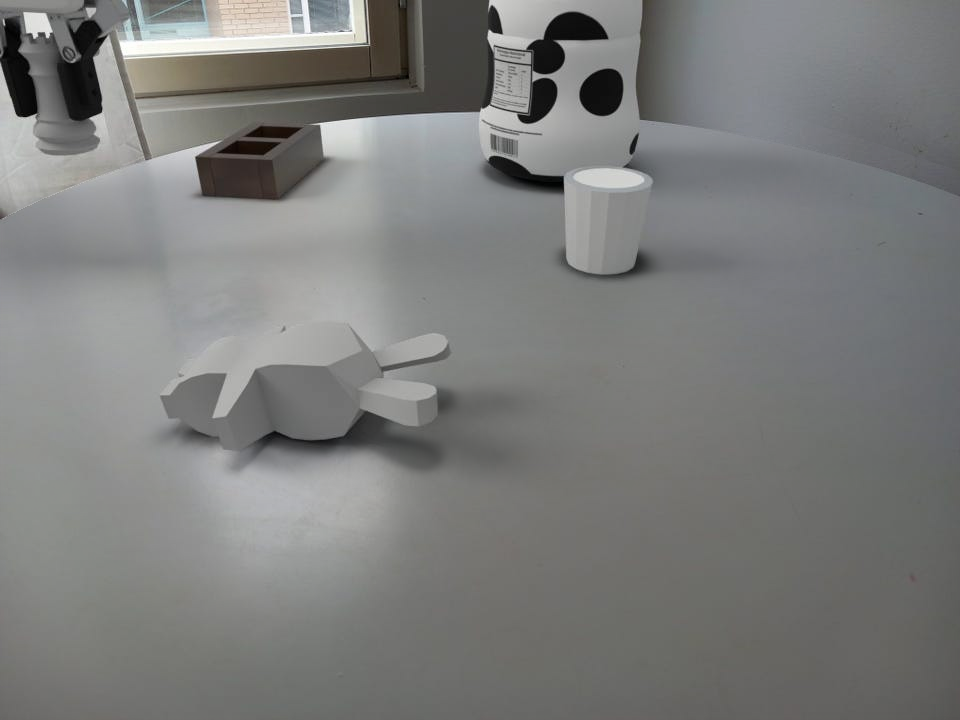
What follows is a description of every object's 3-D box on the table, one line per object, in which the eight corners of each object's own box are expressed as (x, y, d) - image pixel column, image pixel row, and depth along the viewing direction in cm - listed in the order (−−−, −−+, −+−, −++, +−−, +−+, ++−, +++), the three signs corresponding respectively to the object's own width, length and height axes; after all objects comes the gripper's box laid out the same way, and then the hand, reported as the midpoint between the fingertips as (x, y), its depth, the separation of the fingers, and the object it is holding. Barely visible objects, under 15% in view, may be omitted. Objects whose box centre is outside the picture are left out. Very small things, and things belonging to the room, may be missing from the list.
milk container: (632, 152, 89) (650, -15, 80) (637, 198, 75) (659, 1, 65) (489, 146, 91) (491, -17, 82) (467, 190, 77) (466, -3, 67)
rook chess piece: (59, 160, 54) (28, 41, 49) (23, 150, 56) (-10, 34, 51) (114, 147, 57) (89, 34, 53) (78, 137, 59) (51, 28, 55)
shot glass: (577, 282, 57) (584, 194, 54) (547, 249, 63) (551, 167, 60) (657, 272, 59) (669, 186, 55) (621, 241, 65) (629, 161, 61)
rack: (202, 196, 75) (194, 156, 73) (258, 156, 87) (253, 122, 85) (277, 199, 74) (272, 159, 72) (324, 159, 86) (320, 124, 84)
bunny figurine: (200, 311, 44) (447, 293, 42) (224, 383, 47) (459, 369, 45) (122, 399, 36) (424, 382, 34) (157, 480, 39) (439, 468, 37)
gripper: (141, -183, 48) (190, 110, 57) (-93, -188, 50) (-7, 98, 59) (70, -197, 41) (139, 135, 51) (-195, -202, 43) (-80, 120, 53)
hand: (60, 112), depth 55 cm, fingers closed on rook chess piece, 3 cm apart
